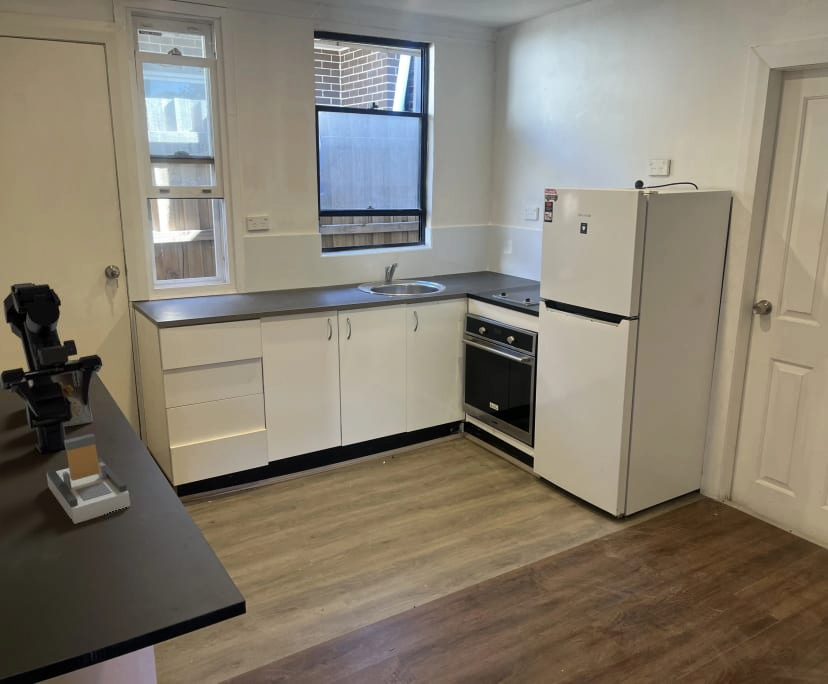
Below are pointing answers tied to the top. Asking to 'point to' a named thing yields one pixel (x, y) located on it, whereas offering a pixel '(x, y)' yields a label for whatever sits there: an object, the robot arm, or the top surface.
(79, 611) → the top surface
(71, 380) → the coffee box
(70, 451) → the lever
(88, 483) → the tray
